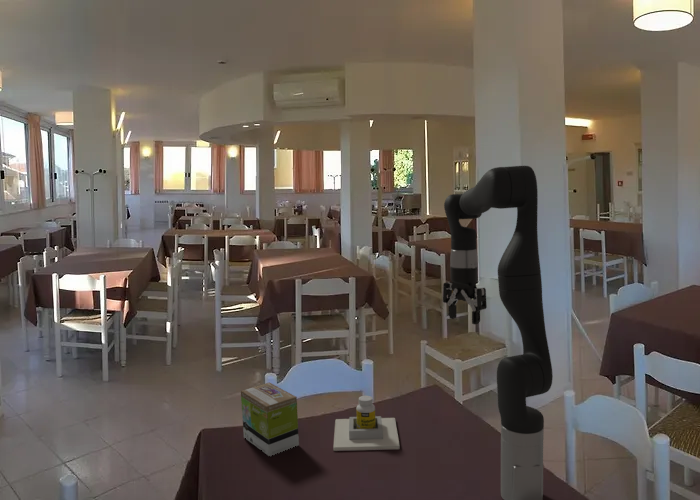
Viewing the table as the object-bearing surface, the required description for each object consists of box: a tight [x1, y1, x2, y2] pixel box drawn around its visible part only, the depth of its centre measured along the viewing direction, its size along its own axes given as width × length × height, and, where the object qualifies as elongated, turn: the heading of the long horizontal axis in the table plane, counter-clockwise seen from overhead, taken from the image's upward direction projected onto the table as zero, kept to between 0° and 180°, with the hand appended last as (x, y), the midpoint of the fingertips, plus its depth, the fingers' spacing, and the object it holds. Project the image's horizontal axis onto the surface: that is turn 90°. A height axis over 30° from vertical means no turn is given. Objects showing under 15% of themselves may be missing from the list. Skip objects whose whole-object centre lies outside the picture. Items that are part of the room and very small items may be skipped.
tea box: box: [240, 382, 300, 457], centre depth 158 cm, size 15×10×15 cm, turn 39°
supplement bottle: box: [355, 395, 376, 429], centre depth 161 cm, size 5×5×10 cm
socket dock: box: [333, 415, 401, 452], centre depth 161 cm, size 18×18×4 cm
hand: (464, 320), depth 160 cm, fingers open, 8 cm apart
